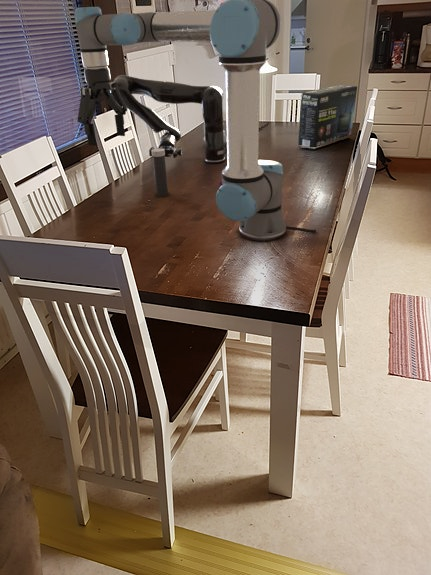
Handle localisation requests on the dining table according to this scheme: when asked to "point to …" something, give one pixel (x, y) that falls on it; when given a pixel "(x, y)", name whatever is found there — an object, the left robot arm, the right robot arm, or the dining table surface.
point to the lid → (158, 152)
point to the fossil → (224, 137)
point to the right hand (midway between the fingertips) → (107, 140)
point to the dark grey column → (160, 175)
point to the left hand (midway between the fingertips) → (164, 155)
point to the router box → (326, 115)
